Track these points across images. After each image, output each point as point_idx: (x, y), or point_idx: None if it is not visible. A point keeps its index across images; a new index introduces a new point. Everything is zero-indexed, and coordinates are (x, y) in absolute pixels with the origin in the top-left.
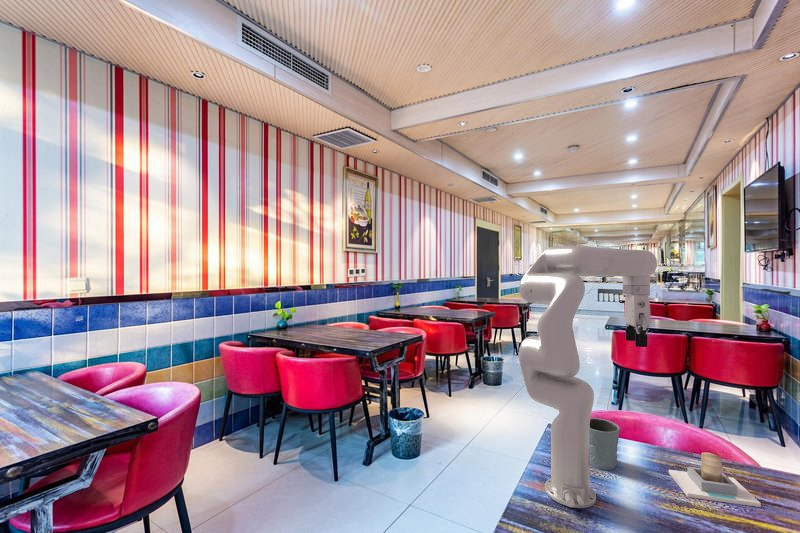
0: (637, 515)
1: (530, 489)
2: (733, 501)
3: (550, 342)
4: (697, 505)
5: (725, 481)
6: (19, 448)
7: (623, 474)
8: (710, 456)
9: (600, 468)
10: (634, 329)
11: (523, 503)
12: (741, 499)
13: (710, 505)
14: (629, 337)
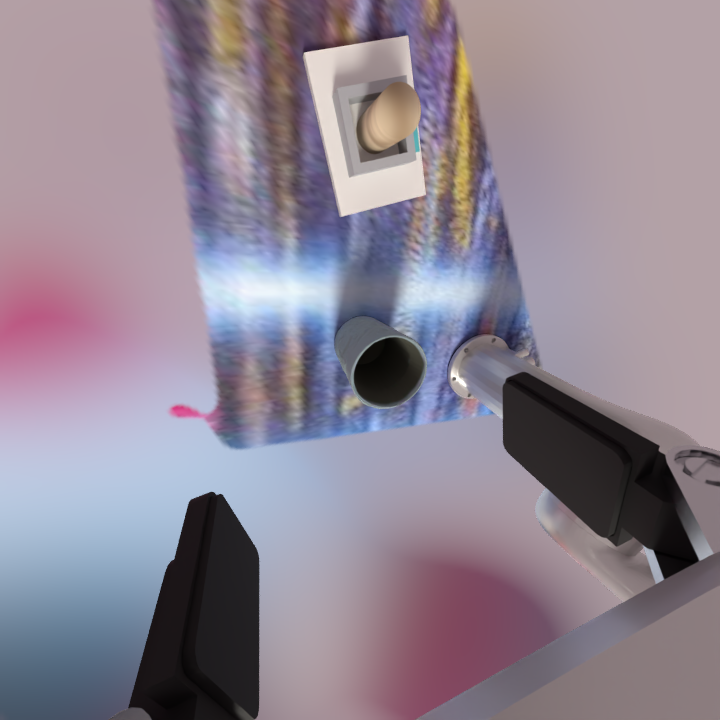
0: (498, 280)
1: (481, 408)
2: None
3: None
4: (443, 183)
5: (377, 94)
6: None
7: (388, 302)
8: (401, 114)
9: (385, 339)
10: (205, 679)
11: None
12: (407, 79)
13: (435, 157)
14: (245, 569)
